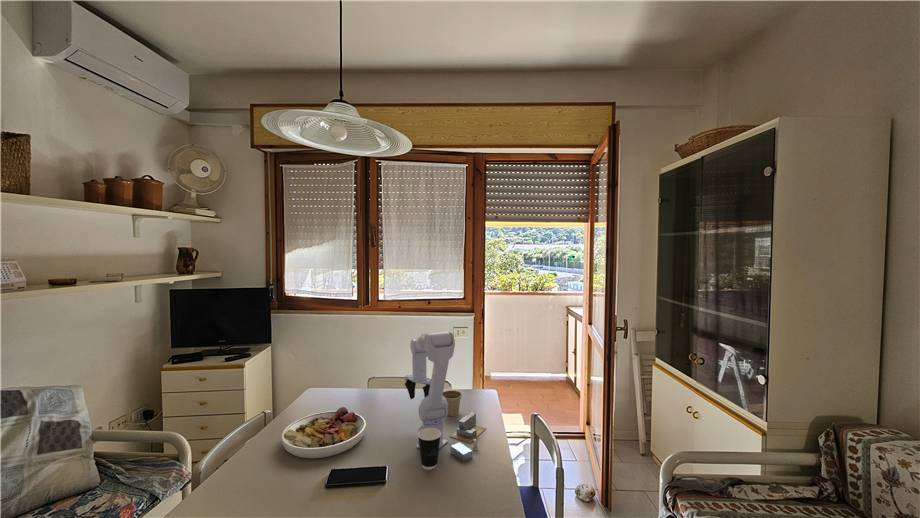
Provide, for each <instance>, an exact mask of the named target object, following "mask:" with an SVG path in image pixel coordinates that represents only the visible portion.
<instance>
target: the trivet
mask: <svg viewBox="0 0 920 518" xmlns="http://www.w3.org/2000/svg"><path fill="white" fill-rule="evenodd" d="M472 429H476V437H475V438H473V439H472V440H471V439H467V438H464V437H461V436H457V430H456V431H455V432H453V433H452V434H451V435H450V436H449V437H450V438H451V439H452V438H453V439H456V440H458V441H461V442H465V443H468V444H471V443H472V442H474V439H477V438H478V437H480V435H481V434H483V433H484V431H486V430H487V428H486V427H483V426H481V425H476V426H474V427H473V428H472ZM472 429H471V430H472Z"/></svg>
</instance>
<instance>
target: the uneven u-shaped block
mask: <svg viewBox="0 0 920 518" xmlns="http://www.w3.org/2000/svg"><path fill="white" fill-rule="evenodd" d="M474 426H477V413H476V412H473V411H470V412H469V413H467V414H466V415H465V416H463V417H462V418H461V419H460V420H458V427H457V428H456V431H457V436H461V437H464V438H467V439H471V440H472V439H473V438H475V437H476V429H472V428H473V427H474ZM471 429H472V430H471ZM475 439H476V438H475Z"/></svg>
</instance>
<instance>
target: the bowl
mask: <svg viewBox="0 0 920 518" xmlns="http://www.w3.org/2000/svg"><path fill="white" fill-rule="evenodd" d="M366 422H367V421H366V419H365V418H364V417H363V416H362V415H360V414H358V413H356V412H354V411H348V409H347V408H346V406H345V407H344V406H341V407H339V408H338V409H337V410H328V411H322V412H318V413H316V412H315V413H312V414H309V415H306V416H303V417H301V418H299V419H297V420H295V421H293V422H291V423H290V424H289V425H288V426H286V427H285V428H284V430H283V431H282V434H281V443H282V446H283V448H284V449H285V450H286V451H287V452H288V453H290V454H291V455H292V456H295V457H298V458H303V459H321V458H329V457H333V456H336V455H339V454H342V453H343V452H346V451H348V450H350V449H352V448H353V447H354V446H356V445H357V444H358V443H359V442H360V441H361V439H362V438H363V437H364V434H365V432H366V428H367V423H366Z"/></svg>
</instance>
